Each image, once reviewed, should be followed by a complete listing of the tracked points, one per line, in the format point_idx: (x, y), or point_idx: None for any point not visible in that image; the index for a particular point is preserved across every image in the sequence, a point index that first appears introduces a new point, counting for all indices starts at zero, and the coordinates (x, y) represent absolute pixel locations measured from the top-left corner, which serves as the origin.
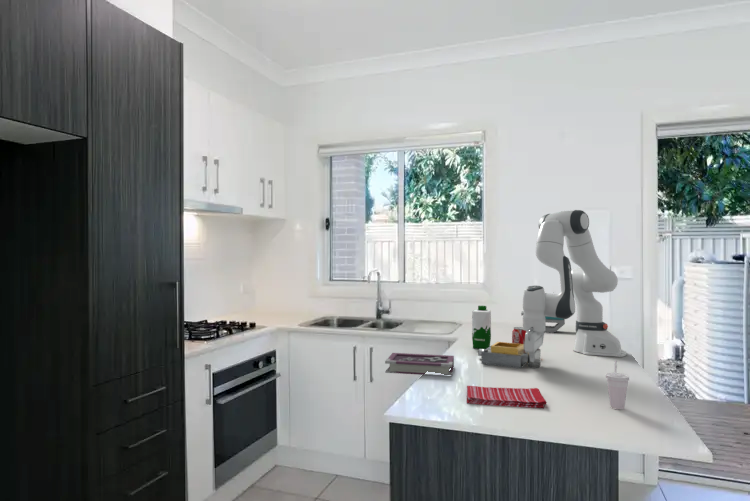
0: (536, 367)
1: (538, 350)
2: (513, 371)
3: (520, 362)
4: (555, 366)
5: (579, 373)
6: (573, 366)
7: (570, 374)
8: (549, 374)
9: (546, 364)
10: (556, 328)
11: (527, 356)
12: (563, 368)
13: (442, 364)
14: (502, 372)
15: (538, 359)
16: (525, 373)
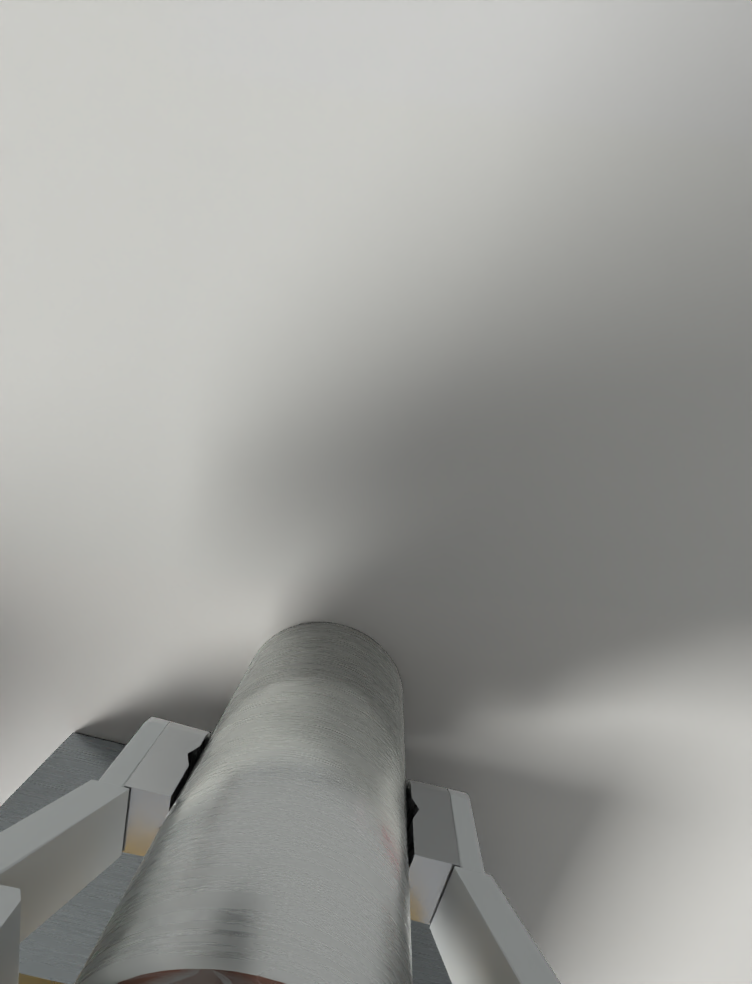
0: (399, 676)
1: None
2: (632, 896)
3: None
4: (224, 422)
5: (636, 52)
6: (110, 107)
7: (726, 239)
8: (748, 554)
9: (144, 534)
10: None
11: (35, 809)
12: (322, 311)
13: None
14: (690, 979)
15: (379, 746)
16: (715, 803)
